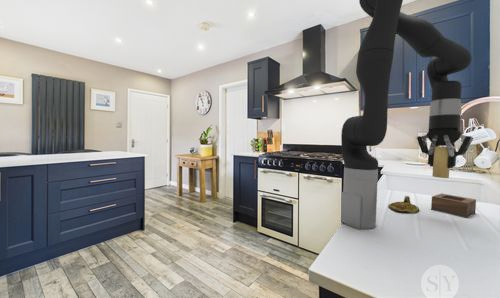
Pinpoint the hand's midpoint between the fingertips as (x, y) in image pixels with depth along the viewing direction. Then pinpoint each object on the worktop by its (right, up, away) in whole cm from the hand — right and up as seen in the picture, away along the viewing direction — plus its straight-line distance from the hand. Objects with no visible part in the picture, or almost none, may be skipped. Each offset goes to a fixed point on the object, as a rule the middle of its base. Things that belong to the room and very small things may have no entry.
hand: (441, 167), depth 69 cm
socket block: (+12, -17, +9) cm, 23 cm away
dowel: (0, -3, 0) cm, 3 cm away
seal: (-4, -17, +11) cm, 21 cm away
